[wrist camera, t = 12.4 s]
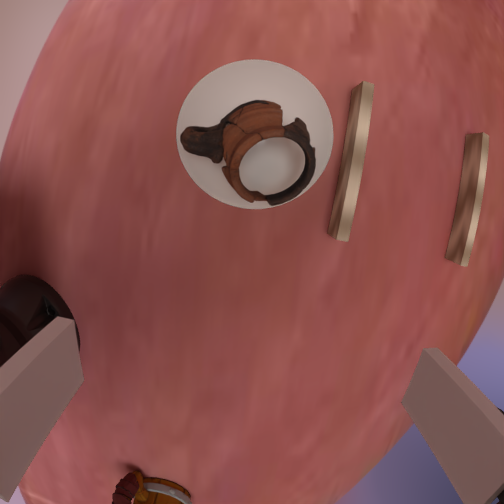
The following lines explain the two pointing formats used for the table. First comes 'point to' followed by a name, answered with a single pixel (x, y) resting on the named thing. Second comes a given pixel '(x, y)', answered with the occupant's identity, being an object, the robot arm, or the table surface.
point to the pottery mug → (250, 145)
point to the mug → (149, 491)
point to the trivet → (266, 151)
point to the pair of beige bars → (353, 168)
